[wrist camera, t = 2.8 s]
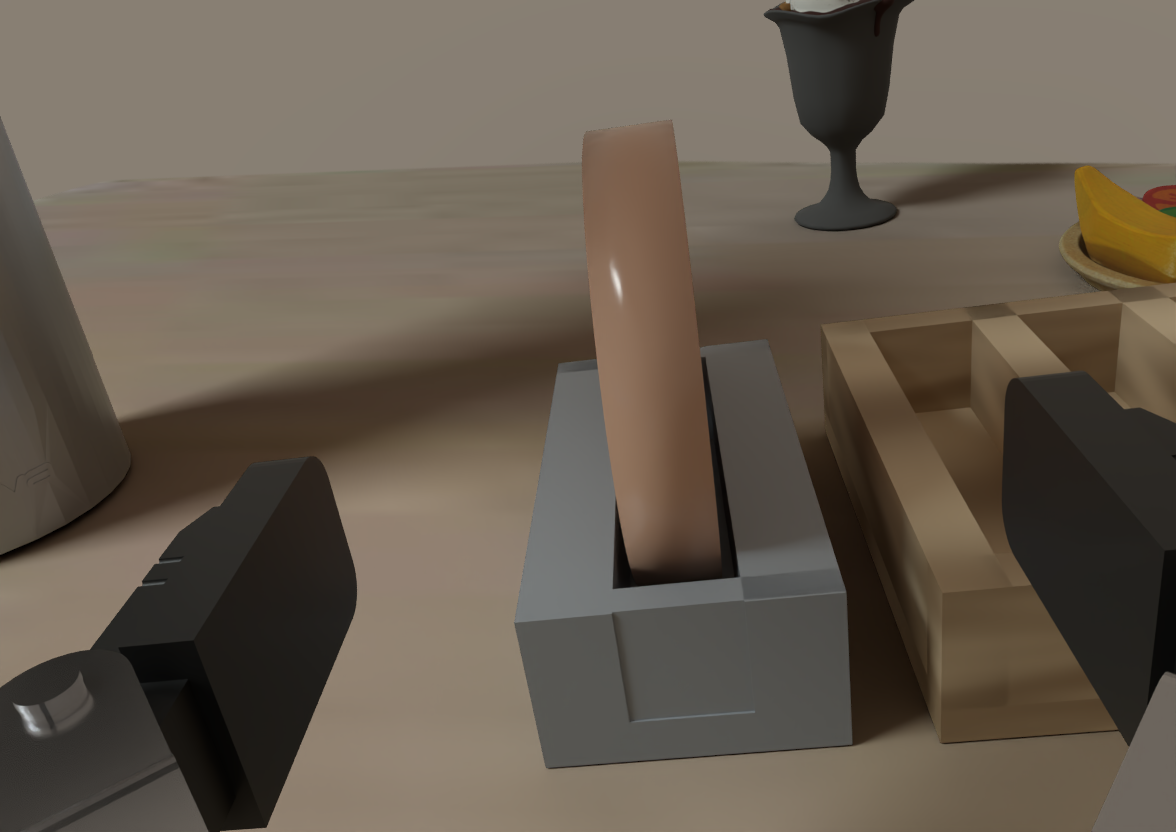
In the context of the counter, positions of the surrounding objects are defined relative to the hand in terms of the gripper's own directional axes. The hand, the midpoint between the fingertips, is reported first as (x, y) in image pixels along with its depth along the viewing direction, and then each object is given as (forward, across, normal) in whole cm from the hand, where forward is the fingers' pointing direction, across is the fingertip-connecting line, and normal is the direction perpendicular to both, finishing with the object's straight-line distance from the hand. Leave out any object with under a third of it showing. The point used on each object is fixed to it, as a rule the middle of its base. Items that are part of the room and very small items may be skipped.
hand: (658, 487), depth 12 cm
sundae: (+40, -9, +9) cm, 42 cm away
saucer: (+10, 0, +3) cm, 11 cm away
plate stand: (+11, 0, +9) cm, 14 cm away
